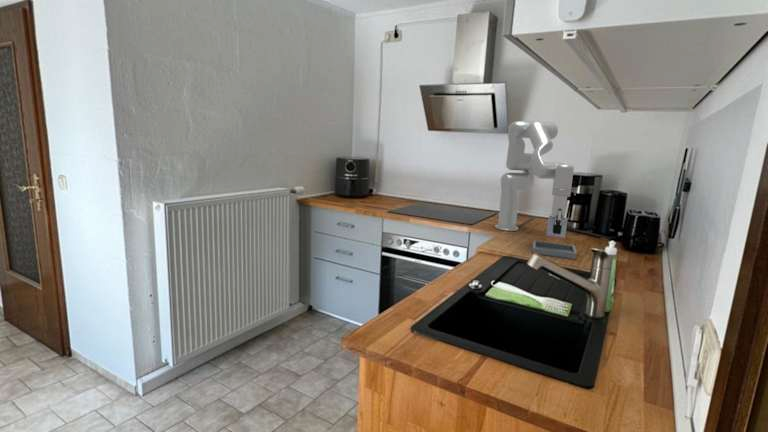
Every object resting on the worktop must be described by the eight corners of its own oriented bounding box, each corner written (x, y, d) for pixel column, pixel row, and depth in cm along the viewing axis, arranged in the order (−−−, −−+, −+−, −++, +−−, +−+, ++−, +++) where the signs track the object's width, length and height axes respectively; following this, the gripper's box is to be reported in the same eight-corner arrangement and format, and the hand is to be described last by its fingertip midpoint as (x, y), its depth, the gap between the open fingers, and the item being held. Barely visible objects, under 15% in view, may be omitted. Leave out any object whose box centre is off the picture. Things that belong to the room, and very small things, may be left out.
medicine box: (565, 236, 186) (567, 217, 184) (565, 238, 182) (567, 219, 180) (546, 233, 189) (549, 215, 187) (546, 235, 185) (548, 217, 183)
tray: (532, 246, 197) (533, 240, 196) (573, 251, 191) (574, 245, 190) (532, 254, 184) (533, 248, 183) (576, 259, 178) (577, 253, 177)
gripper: (551, 189, 191) (546, 227, 194) (553, 194, 175) (547, 235, 179) (569, 190, 188) (563, 229, 192) (572, 195, 172) (566, 237, 176)
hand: (556, 231), depth 185 cm, fingers closed on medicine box, 4 cm apart
